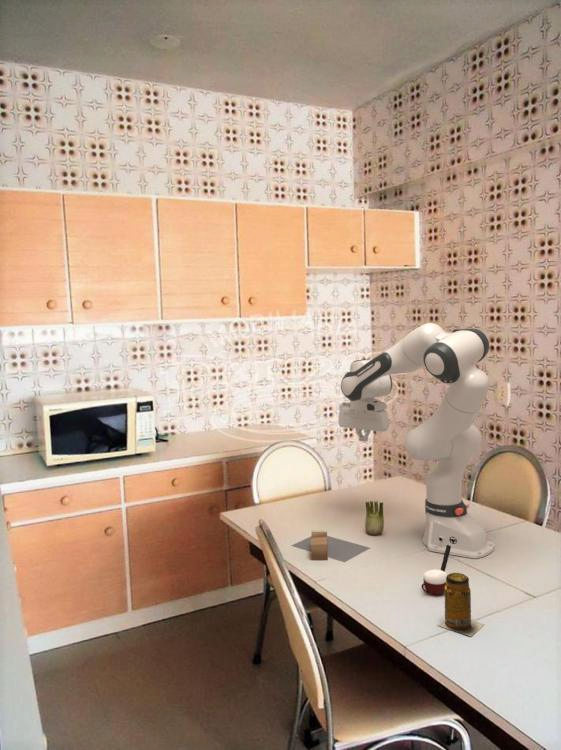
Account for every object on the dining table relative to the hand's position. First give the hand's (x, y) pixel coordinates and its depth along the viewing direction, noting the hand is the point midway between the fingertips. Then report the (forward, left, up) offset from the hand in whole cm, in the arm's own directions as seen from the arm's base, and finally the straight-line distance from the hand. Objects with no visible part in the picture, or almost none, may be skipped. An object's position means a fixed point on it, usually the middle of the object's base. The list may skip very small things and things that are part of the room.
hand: (363, 441), depth 220 cm
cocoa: (-49, +37, -29) cm, 68 cm away
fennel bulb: (-12, +12, -29) cm, 34 cm away
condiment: (-62, +49, -29) cm, 84 cm away
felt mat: (-7, +30, -29) cm, 42 cm away
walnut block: (-3, +31, -26) cm, 41 cm away
